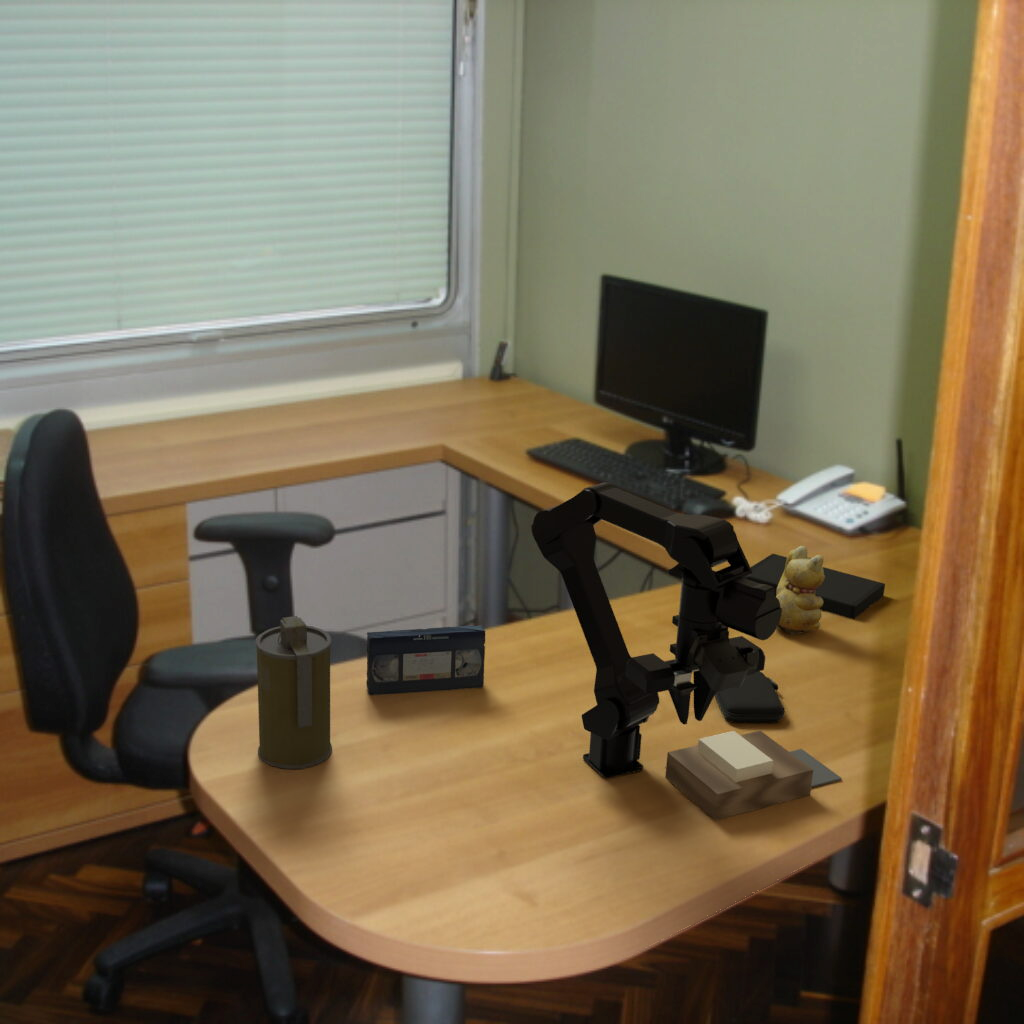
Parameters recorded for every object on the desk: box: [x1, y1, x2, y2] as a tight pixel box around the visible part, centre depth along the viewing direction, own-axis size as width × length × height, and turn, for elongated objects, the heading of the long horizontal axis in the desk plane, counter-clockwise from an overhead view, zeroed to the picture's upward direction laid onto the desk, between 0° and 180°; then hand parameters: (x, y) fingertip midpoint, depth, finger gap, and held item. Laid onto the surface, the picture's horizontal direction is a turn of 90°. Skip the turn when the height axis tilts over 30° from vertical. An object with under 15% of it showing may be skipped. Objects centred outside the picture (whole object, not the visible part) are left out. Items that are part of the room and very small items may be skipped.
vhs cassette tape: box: [365, 624, 486, 696], centre depth 214 cm, size 18×3×10 cm, turn 102°
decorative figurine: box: [776, 545, 825, 635], centre depth 240 cm, size 10×8×15 cm
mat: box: [789, 748, 843, 789], centre depth 196 cm, size 7×9×1 cm
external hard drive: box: [745, 553, 886, 620], centre depth 260 cm, size 14×23×3 cm, turn 54°
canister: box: [254, 615, 333, 770], centre depth 192 cm, size 11×10×20 cm
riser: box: [665, 730, 813, 821], centre depth 191 cm, size 16×12×4 cm
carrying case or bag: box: [714, 671, 786, 724], centre depth 215 cm, size 11×3×15 cm
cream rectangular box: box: [697, 730, 773, 782], centre depth 189 cm, size 6×9×2 cm, turn 27°
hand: (690, 721), depth 183 cm, fingers open, 2 cm apart
